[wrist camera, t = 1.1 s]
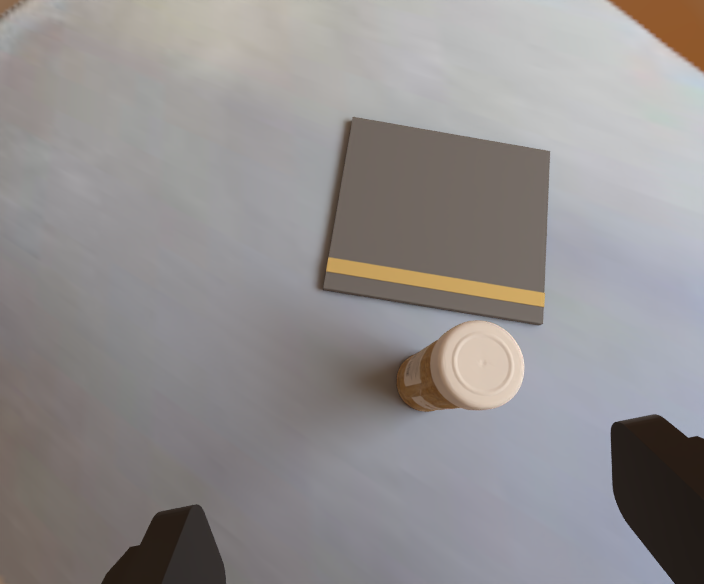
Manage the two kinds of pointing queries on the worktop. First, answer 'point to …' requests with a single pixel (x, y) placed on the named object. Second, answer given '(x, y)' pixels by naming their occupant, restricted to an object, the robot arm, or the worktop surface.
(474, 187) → the line mat
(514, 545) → the worktop surface
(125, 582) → the robot arm
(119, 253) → the worktop surface
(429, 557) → the worktop surface
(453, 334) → the sprinkles bottle
